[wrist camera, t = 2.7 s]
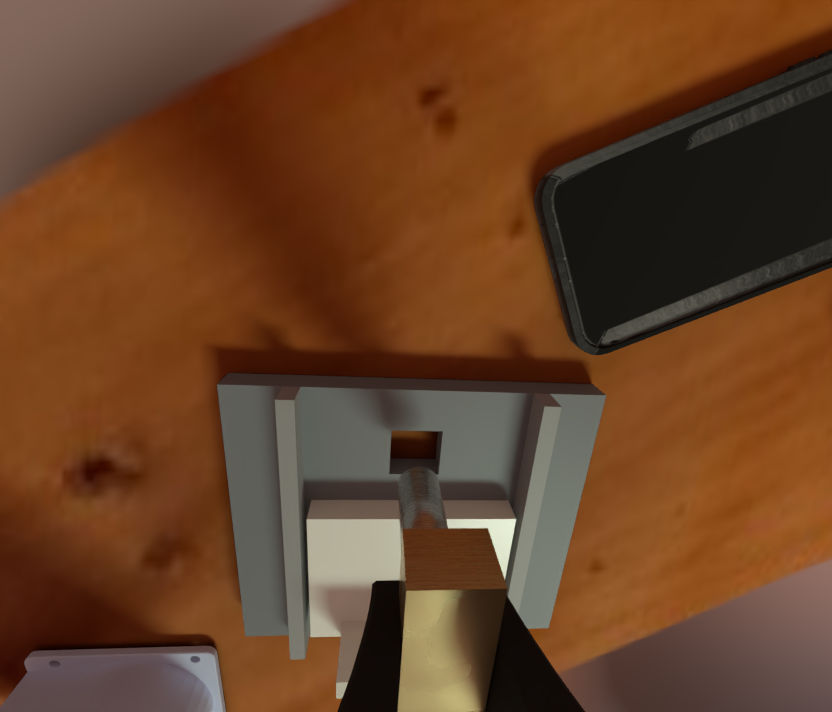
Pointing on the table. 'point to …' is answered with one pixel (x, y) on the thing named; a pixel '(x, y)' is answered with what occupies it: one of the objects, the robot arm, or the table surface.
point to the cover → (374, 560)
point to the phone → (693, 211)
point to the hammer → (444, 603)
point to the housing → (398, 472)
